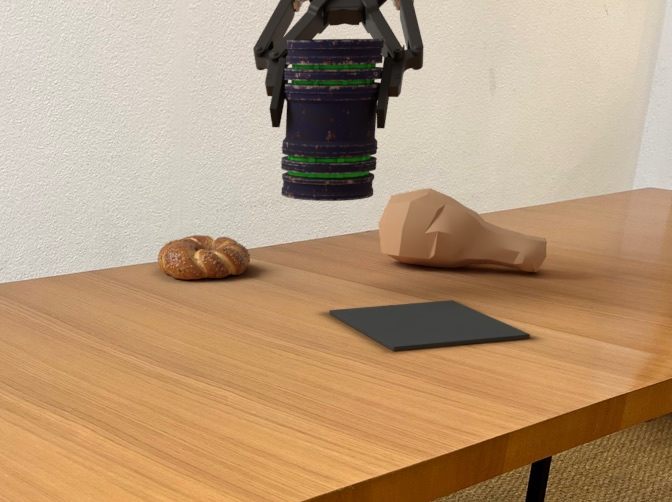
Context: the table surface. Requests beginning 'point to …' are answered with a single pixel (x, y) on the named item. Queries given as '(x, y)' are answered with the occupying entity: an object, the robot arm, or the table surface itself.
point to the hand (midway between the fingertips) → (326, 118)
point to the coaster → (427, 325)
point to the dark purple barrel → (331, 118)
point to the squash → (451, 235)
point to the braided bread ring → (203, 257)
